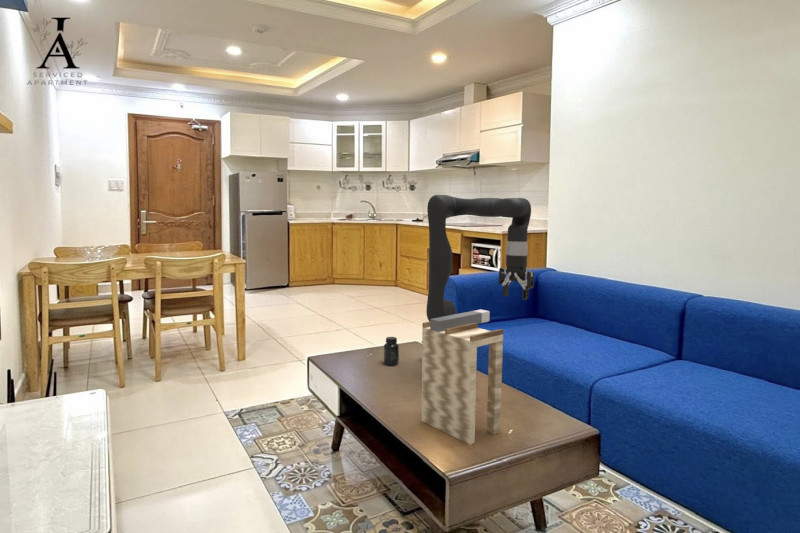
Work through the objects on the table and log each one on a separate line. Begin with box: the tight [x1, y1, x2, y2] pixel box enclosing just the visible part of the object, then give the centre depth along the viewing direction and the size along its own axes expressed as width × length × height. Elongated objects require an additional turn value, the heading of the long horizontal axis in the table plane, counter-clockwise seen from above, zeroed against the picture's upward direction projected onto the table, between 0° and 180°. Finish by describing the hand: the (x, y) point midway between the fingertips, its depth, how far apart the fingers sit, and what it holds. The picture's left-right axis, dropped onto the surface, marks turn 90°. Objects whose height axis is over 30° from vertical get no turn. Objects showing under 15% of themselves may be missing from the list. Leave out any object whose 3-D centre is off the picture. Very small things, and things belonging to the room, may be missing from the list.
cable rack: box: [420, 321, 504, 445], centre depth 168 cm, size 22×14×34 cm, turn 39°
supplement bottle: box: [383, 336, 400, 367], centre depth 234 cm, size 7×7×12 cm
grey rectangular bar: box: [430, 308, 491, 332], centre depth 173 cm, size 4×24×4 cm, turn 129°
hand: (515, 297), depth 190 cm, fingers open, 8 cm apart
